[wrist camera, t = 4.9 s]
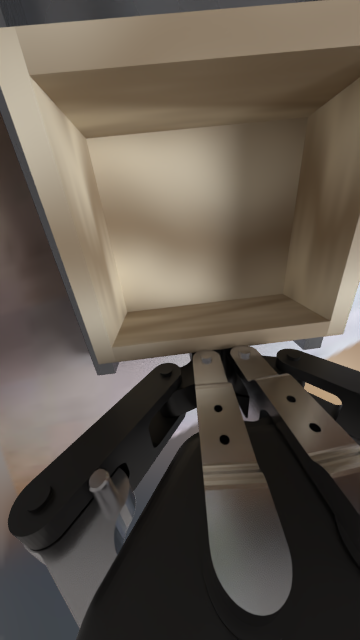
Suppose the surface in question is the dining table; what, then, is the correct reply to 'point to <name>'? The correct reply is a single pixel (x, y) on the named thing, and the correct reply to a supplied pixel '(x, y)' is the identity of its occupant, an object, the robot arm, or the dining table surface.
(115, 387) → the dining table surface
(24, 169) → the bay
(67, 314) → the dining table surface
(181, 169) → the box
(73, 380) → the dining table surface
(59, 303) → the dining table surface
